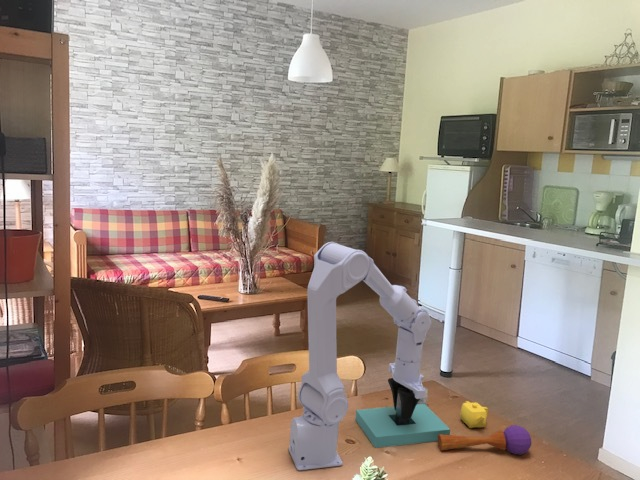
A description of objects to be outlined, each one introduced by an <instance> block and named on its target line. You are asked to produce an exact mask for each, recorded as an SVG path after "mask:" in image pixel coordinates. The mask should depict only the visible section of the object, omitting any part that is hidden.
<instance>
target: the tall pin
mask: <svg viewBox="0 0 640 480" xmlns="http://www.w3.org/2000/svg"><path fill="white" fill-rule="evenodd" d="M404 388H406V387H405V386H399V387H398V389H404ZM395 424H396V425H397V426H399V425H409V419H403V418H402V416H401V400H400V396H399V393H398V396H397V406H396V416H395Z"/></svg>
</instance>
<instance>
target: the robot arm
mask: <svg viewBox="0 0 640 480" xmlns="http://www.w3.org/2000/svg"><path fill="white" fill-rule="evenodd" d="M374 261H375V260H374V259H373V258H371V257H370V256H369V255H368V253H366V252H365V251H364V250H361V249H355V248H352V247H349V246H345V245H343V244H339V243H338V242H336V241H329V242H326V243H324V244H323V245H322V246H321V247H320V248H319V249H318V250H317V252H316V253H314V255H313V262H314V263H313V264H314V265H313V270H312V273H311V276H310V279H309V282H308V285H307V290H306V291H307V293H306V294H307V334H308V340H307V341H308V371H305V373H303V374H302V375H301V383H300V387H299V389H298V391H297V392H298V393H297V399H298V401H299V403H300V404H301V405H302V412H303V414H301V415H300V416H296V417H293V418H292V419H291V421H290V430H289V431H290V433H289V447H288V451H289V453H290V456H291V458H292V461H293V464H294V466H295V468H296V470H297V471H305V470H313V469H322V468H331V467H340V466H342V465H343V463H344V461H342V459H341V457H340V455H339V454H338V453H339V452H337V449H338V439H339V438H338V437H339V428H340V427H339V425H340V423H342V420H343V419H344V418H345V417H346V415H347V413H348V410H349V400H348V398H347V397H346V394H345V386H344V384H343V382H342V379H341V378H340V376H339V375H338V366H337V365H338V364H337V363H338V358H337V357H338V356H337V355H338V351H337V350H338V348H337V346H338V345H337V342H338V341H337V298H338V297H339V296H340V295H342V294H344V293H346V292H347V291H349V290H350V289H352V288H353V287H355V286H356V285H357V284H359V283H361V281H363V282H364V283H365V284H366V285H367V286H368V287H370V289H371V290H372V291H374V292H375V293H376V294H377V295H378V296H379V304H380V306H381V307H382V308H383V309H384V310H385V311H386V312H387V313H388V314H389V315H390V316H391V317H392V320H393V323H394V325H396V326H397V327H398V329H397V330H398V331H397V338H396V339H397V342H396V350H395V360H394V362H393V363H389V364H388V371H389V373H391V375H392V377H389V378H388V379H387V383H388V385H389V387H390V391H391V394H392V401H393V407H394V409H395V410H396V406H397V396H398V393H399V396H400V400H401V416H402V418H403V419H409V418H411V417H412V414H413V412H414V409H415V407H416V405H417V403H418V401H419V400H420V399H423V398H425V392H426V390H425V389H424V388H423V387H424V386H423V383H422V380H424V377H425V376H424V375H423V374H422V373H421V366H422V365H421V364H422V357H423V346H424V342H425V341H426V339H427V333H428V331H429V330H430V328H431V326H432V323H433V322H432V320H431V317H430V314H429V312H428V311H427V310H426V309H424V308H421V307H419V305H418V301H417V300H416V299H413V298H412V297H411V296H410V295H409V294H408V293H407V291H408V289H407V288H406V287H405V286H403V285H398V284H391V283H390V281H389V280H388V279H387V278H386V276H385V275H384V274H383V273H382V271H381V269H379V267H378V266H377V265H376V263H375V262H374ZM399 386H405V387H406V388H404V389H398V387H399ZM343 466H344V465H343Z"/></svg>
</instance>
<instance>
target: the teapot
mask: <svg viewBox="0 0 640 480" xmlns="http://www.w3.org/2000/svg"><path fill="white" fill-rule="evenodd" d="M460 409H461V410H460V415H459V416H460V419H461V420H462V422H463V423H465V425H467V428H468V429H473V428H479V429H482V428H483V427H486V425H487V417H488V416H489V413H488V412H489V408H488V407H487V406H482V405H481V404H479V403H478V402H470V401H469V400H465V401H464V402H462V404H461V407H460Z"/></svg>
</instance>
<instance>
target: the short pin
mask: <svg viewBox="0 0 640 480" xmlns="http://www.w3.org/2000/svg"><path fill="white" fill-rule="evenodd" d="M423 388H424V389H425V390H426V392H425V398H423V399H420V400H419V401H418V403H417V405H418V404H425V405H426V406H427V403H428V392H429V389H428V388H427V387H425V386H423Z"/></svg>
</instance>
